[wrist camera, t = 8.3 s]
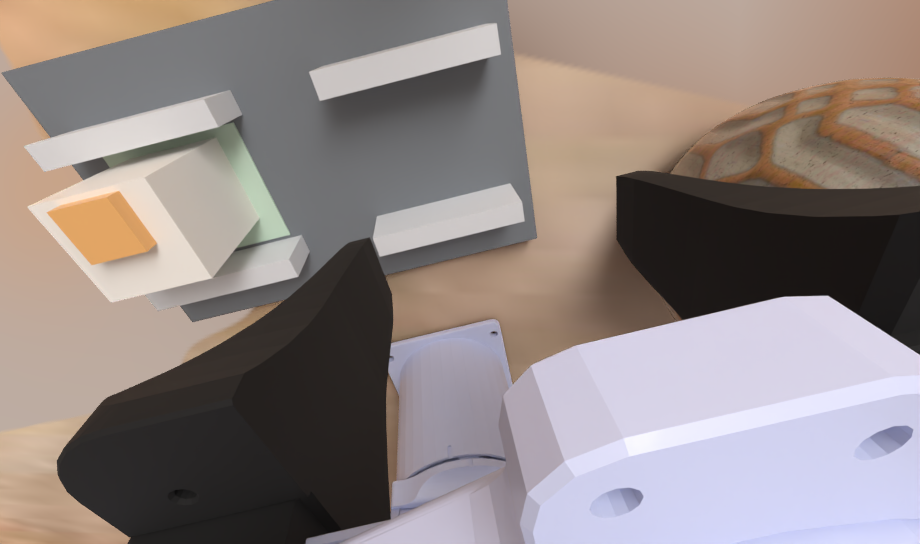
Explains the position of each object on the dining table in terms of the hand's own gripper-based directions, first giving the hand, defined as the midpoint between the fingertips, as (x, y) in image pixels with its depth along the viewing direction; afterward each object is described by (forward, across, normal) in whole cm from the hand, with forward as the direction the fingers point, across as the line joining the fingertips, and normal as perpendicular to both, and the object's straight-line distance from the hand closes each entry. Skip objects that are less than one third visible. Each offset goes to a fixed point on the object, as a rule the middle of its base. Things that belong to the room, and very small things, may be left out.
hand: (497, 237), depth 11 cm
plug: (+9, +12, -1) cm, 15 cm away
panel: (+10, +7, -1) cm, 12 cm away
